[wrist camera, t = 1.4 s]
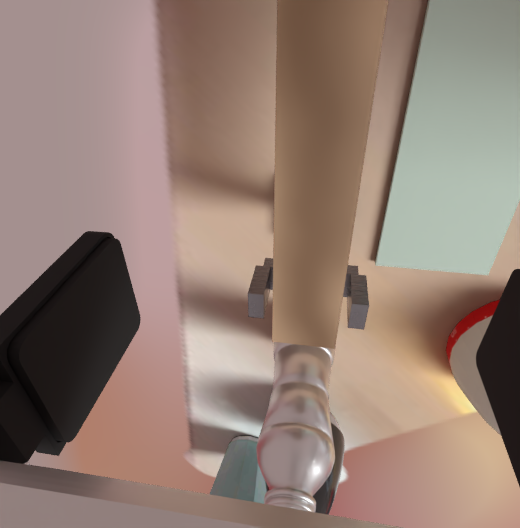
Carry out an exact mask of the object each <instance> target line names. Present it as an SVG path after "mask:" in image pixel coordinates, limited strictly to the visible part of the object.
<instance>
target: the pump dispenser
mask: <svg viewBox="0 0 520 528" xmlns="http://www.w3.org/2000/svg"><path fill="white" fill-rule="evenodd" d="M330 422H331V429H332V436H333V443H334V451H335V461H334V465H333V468H332V471H331V473H330V475H329V477H328V478H327V479H326V481H325V482H324V484H323V485H322V486H321V487H320V489H319V490H318V491H317V492H316V493H315V494H314V495H313V498H314V499H315V501H316V511H315V513H321V514H327V515H329V512H330V510H331V507H332V504H333V501H334V498H335V495H336V491H337V487H338V484H339V480H340V475H341V470H342V464H343V457H344V437H343V434H342V433H341V431H340V428H339V425H338V423H337V421H336V419H335V417H334V416H333V415H332V414H331V413H330ZM265 484H266V492H267V491H269V487H268V485H267V483H266V481H265Z"/></svg>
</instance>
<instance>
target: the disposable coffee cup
mask: <svg viewBox="0 0 520 528" xmlns="http://www.w3.org/2000/svg"><path fill="white" fill-rule="evenodd" d="M257 443H258V438H255V437H251V436H238V437H236V438H233V439H232V441H231V442H230V443H229V446H228V448H227V451H226V453H225V456H224V458H223V461H222V463H221V466H220V469H219V471H218V474H217V476H216V479H215V482H214V484H213V487H212V489H211V492H210V495H216V496H222V497H228V498H233V499H239V500H245V501H251V502H257V503H263V504H264V498H265V494H266V484H265V479H264V477H263V475H262V472H261V470H260V467H259V465H258V460H257V452H256V447H257Z"/></svg>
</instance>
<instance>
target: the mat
mask: <svg viewBox="0 0 520 528" xmlns="http://www.w3.org/2000/svg"><path fill="white" fill-rule="evenodd" d="M519 201H520V0H428V4H427V9H426V14H425V19H424V24H423V29H422V34H421V38H420V43H419V48H418V53H417V58H416V63H415V68H414V73H413V78H412V83H411V88H410V93H409V97H408V102H407V107H406V112H405V117H404V122H403V127H402V132H401V137H400V142H399V147H398V151H397V156H396V161H395V166H394V171H393V176H392V181H391V186H390V191H389V196H388V201H387V206H386V210H385V215H384V220H383V225H382V230H381V235H380V240H379V245H378V250H377V255H376V260H375V265H377V266H388V267H400V268H411V269H423V270H434V271H445V272H457V273H468V274H480V275H488V274H489V272H490V269H491V267H492V265H493V262H494V260H495V258H496V255H497V253H498V250H499V248H500V246H501V243H502V241H503V239H504V236H505V234H506V231H507V229H508V227H509V224H510V222H511V220H512V217H513V215H514V212H515V210H516V208H517V205H518V203H519Z"/></svg>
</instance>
